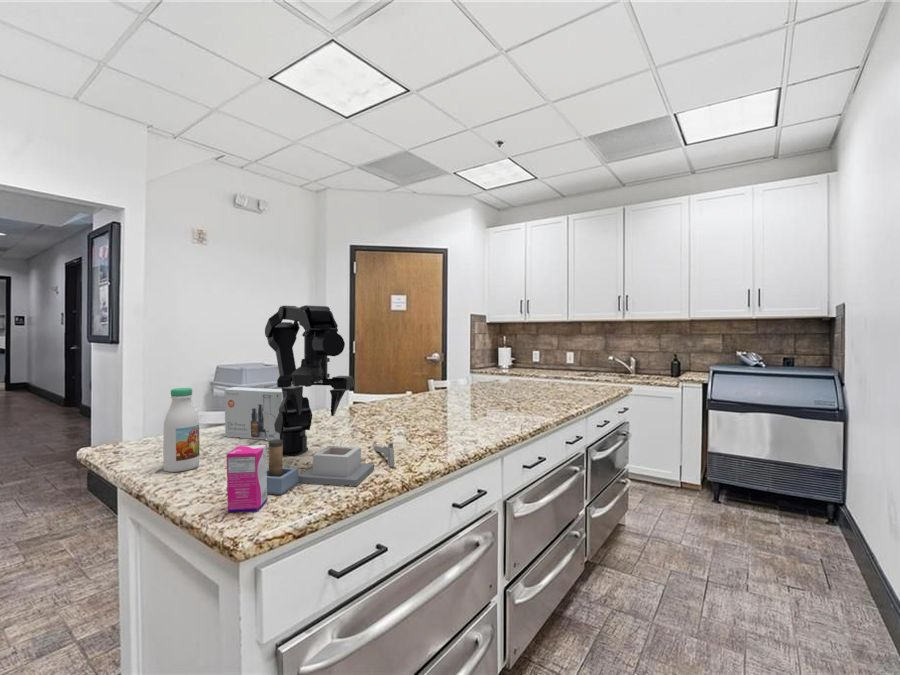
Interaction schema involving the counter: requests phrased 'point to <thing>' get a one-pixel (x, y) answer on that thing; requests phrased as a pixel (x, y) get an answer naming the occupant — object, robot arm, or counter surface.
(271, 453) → the brown wooden cylinder
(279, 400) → the skincare box
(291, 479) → the blue square tray
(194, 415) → the milk bottle
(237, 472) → the supplement box
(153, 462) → the counter surface
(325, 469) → the grey square holder
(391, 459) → the caliper
